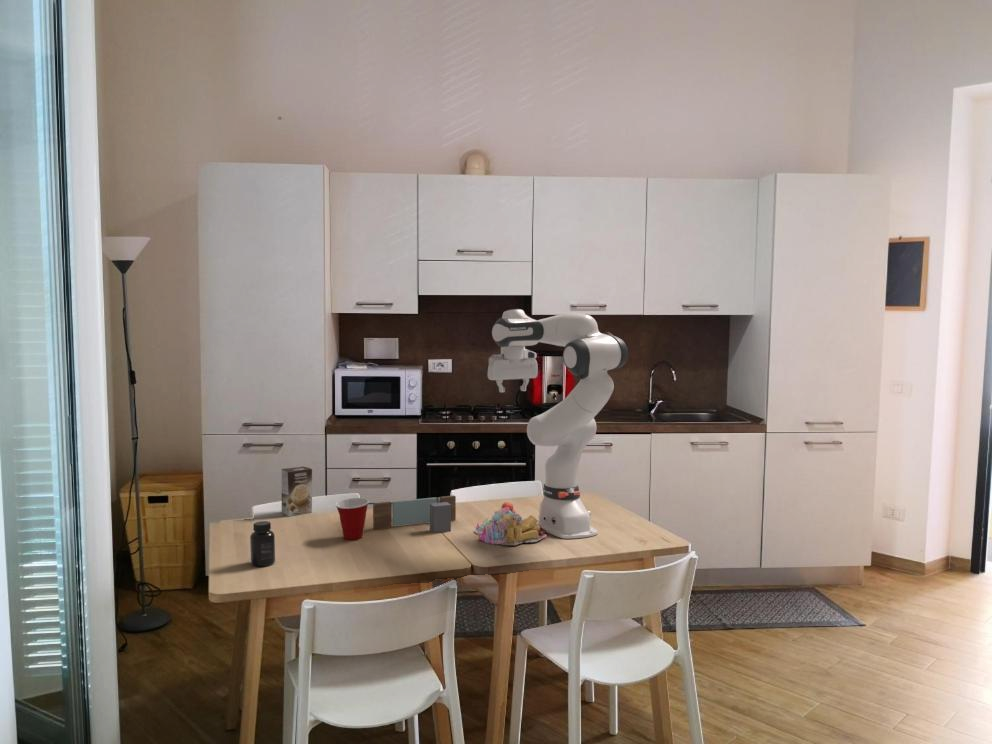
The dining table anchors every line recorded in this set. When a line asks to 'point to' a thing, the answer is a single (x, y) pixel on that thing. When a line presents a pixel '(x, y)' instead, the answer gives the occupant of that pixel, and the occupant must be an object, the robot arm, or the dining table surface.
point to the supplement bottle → (262, 544)
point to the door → (412, 511)
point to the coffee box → (296, 491)
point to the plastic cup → (352, 517)
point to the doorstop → (440, 517)
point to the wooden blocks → (384, 512)
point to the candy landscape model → (509, 528)
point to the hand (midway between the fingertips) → (512, 391)
